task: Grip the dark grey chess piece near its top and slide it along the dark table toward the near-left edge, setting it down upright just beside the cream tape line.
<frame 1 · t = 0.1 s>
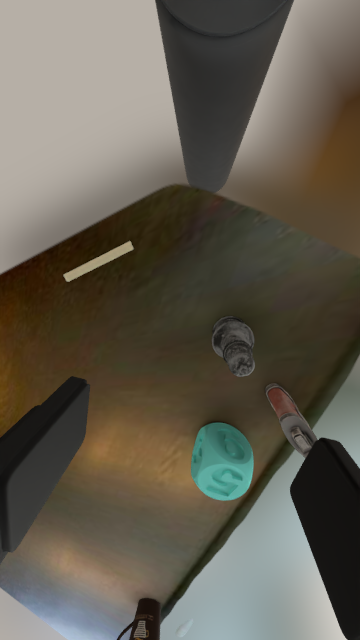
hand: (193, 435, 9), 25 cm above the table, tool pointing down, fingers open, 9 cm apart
edge tape: (97, 262, 32), on the table
dark grey chess piece: (229, 331, 33), on the table
lighter: (281, 400, 36), on the table
coffee mug: (144, 602, 60), on the table
decorative dice: (218, 437, 40), on the table
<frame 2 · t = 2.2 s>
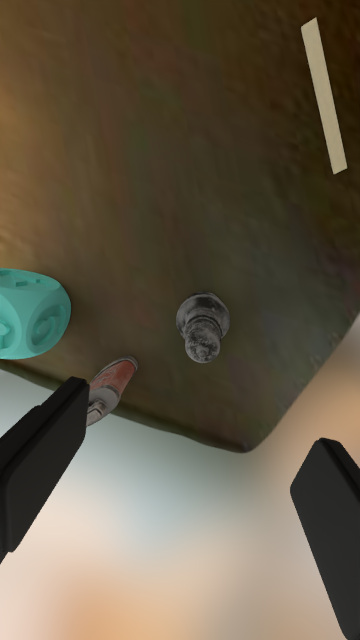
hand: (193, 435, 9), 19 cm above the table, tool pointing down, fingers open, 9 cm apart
edge tape: (325, 102, 19), on the table
dark grey chess piece: (202, 312, 27), on the table
lighter: (115, 373, 31), on the table
decorative dice: (44, 303, 29), on the table
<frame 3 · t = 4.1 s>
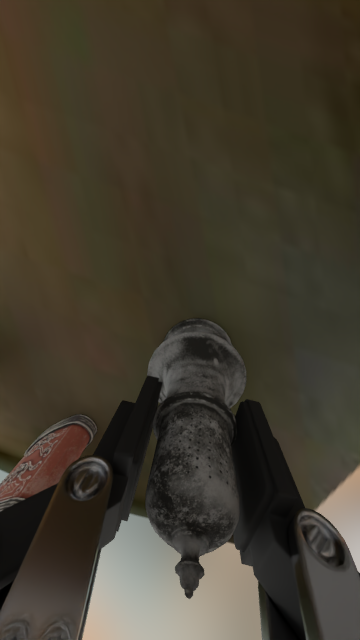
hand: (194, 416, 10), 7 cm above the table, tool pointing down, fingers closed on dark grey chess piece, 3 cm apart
dark grey chess piece: (196, 350, 16), on the table, touching gripper
lighter: (64, 437, 20), on the table
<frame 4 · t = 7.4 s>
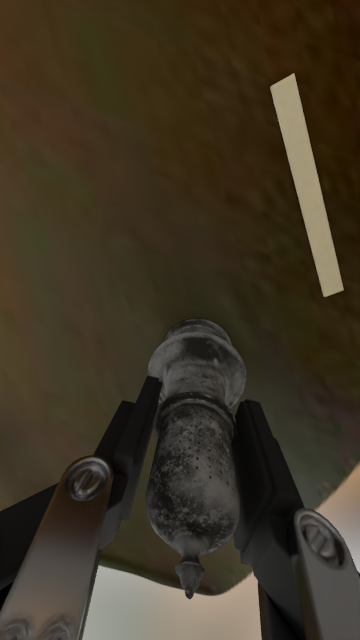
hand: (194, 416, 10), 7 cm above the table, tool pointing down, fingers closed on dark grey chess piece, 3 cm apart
edge tape: (310, 199, 12), on the table
dark grey chess piece: (196, 350, 16), on the table, touching gripper
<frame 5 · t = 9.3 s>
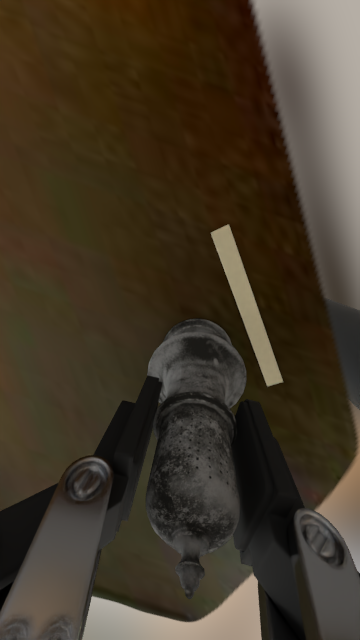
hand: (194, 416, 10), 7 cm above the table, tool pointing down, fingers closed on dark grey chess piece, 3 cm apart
edge tape: (249, 313, 15), on the table
dark grey chess piece: (196, 350, 16), on the table, touching gripper
when the fingers open (7 cm above the table, at t = 10.5 s): dark grey chess piece stays where it is, on the table.
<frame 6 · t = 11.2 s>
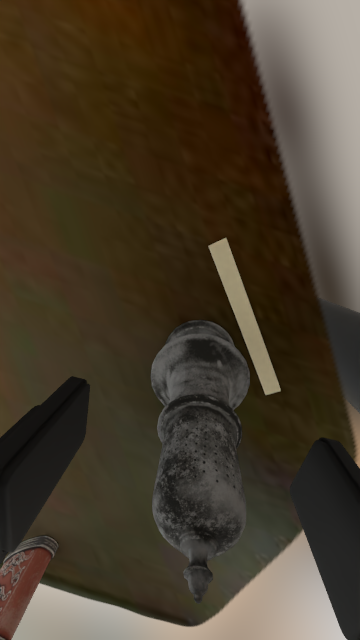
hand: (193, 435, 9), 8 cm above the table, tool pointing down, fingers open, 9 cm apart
edge tape: (247, 324, 15), on the table
dark grey chess piece: (199, 352, 16), on the table
lighter: (34, 547, 26), on the table
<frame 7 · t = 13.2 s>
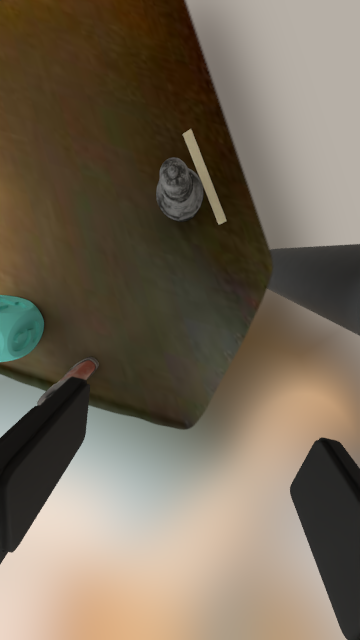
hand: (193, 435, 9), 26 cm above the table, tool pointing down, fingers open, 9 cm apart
edge tape: (205, 179, 29), on the table
dark grey chess piece: (181, 201, 30), on the table
lighter: (82, 370, 40), on the table
decorative dice: (23, 319, 37), on the table
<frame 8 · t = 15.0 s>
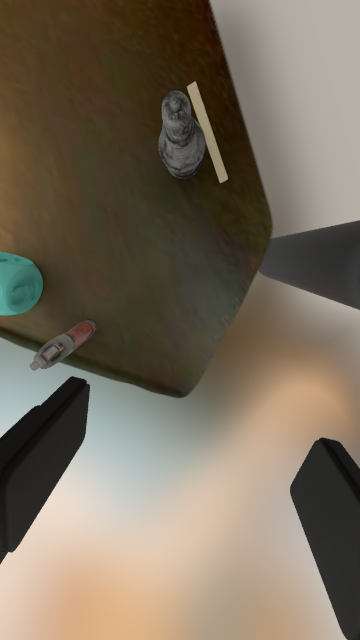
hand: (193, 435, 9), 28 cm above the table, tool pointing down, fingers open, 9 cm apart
edge tape: (208, 135, 29), on the table
dark grey chess piece: (183, 157, 30), on the table
lighter: (79, 334, 40), on the table
decorative dice: (23, 279, 38), on the table
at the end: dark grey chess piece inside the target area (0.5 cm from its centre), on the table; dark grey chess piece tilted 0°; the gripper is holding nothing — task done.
